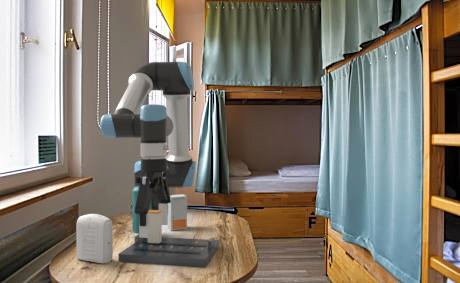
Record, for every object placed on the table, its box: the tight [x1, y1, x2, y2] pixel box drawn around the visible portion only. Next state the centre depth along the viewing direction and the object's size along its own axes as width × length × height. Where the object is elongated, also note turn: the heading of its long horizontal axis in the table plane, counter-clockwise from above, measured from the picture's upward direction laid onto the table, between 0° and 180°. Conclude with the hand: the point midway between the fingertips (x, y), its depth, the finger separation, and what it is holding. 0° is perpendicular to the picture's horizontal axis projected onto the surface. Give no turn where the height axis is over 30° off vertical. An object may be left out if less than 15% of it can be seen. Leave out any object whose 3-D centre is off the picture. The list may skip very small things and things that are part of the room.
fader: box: [148, 210, 163, 243], centre depth 99 cm, size 2×4×9 cm, turn 79°
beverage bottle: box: [131, 176, 152, 235], centre depth 114 cm, size 6×7×20 cm
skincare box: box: [167, 193, 188, 232], centre depth 122 cm, size 6×4×12 cm
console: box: [117, 234, 220, 268], centre depth 96 cm, size 16×24×4 cm, turn 79°
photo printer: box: [75, 213, 114, 264], centre depth 92 cm, size 10×4×12 cm, turn 69°
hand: (154, 230), depth 99 cm, fingers open, 13 cm apart
